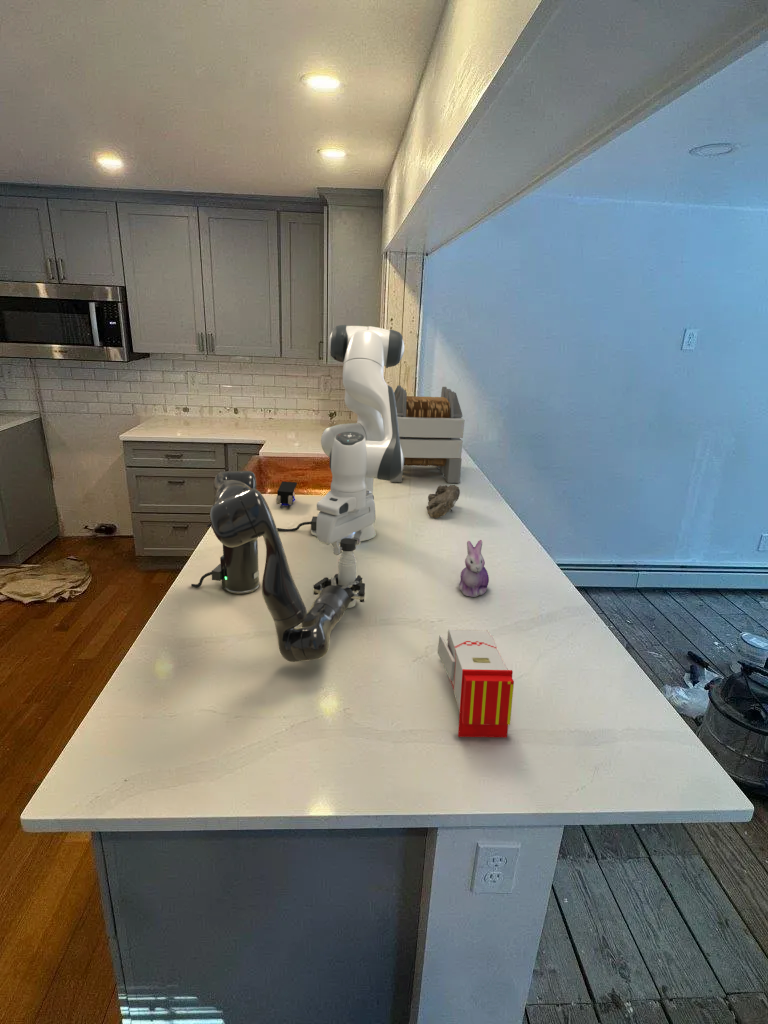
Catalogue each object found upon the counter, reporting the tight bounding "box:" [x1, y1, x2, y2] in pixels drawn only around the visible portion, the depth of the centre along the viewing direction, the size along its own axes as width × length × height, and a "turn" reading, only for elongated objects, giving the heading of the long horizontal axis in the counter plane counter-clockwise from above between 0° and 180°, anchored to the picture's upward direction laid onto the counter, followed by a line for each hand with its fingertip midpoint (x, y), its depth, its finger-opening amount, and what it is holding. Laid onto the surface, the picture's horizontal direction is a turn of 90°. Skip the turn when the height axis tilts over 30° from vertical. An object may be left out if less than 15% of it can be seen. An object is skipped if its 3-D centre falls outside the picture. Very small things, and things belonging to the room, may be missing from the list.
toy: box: [437, 628, 515, 738], centre depth 117 cm, size 12×13×30 cm
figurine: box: [459, 539, 490, 598], centre depth 159 cm, size 9×10×15 cm
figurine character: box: [275, 480, 298, 509], centre depth 223 cm, size 7×8×15 cm
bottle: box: [337, 550, 357, 609], centre depth 149 cm, size 5×5×18 cm
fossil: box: [426, 484, 461, 519], centre depth 223 cm, size 22×10×15 cm
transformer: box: [390, 384, 465, 484], centre depth 268 cm, size 34×33×41 cm
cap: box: [339, 538, 357, 552], centre depth 146 cm, size 4×4×2 cm
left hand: (349, 577), depth 152 cm, fingers closed on bottle, 4 cm apart
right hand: (347, 549), depth 146 cm, fingers open, 6 cm apart
